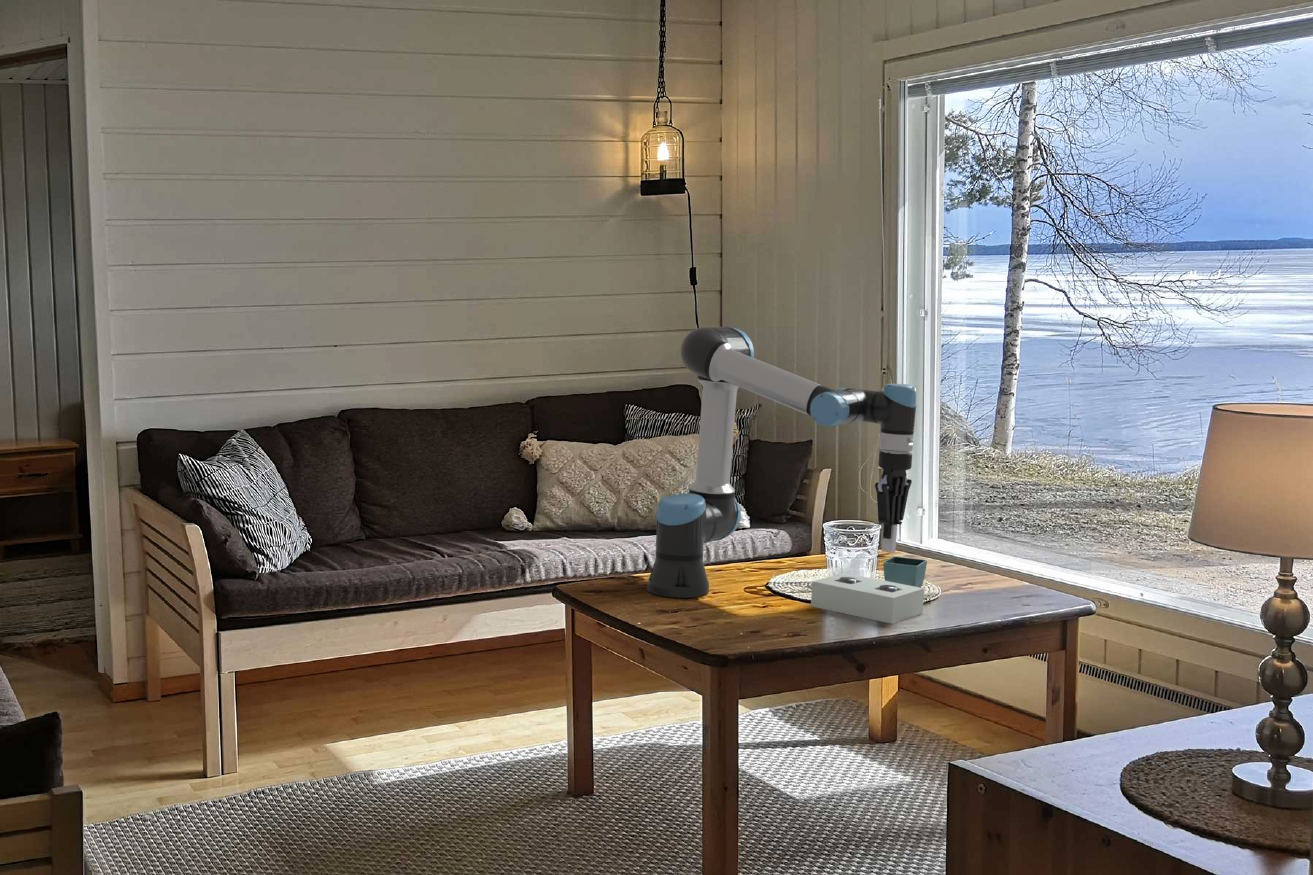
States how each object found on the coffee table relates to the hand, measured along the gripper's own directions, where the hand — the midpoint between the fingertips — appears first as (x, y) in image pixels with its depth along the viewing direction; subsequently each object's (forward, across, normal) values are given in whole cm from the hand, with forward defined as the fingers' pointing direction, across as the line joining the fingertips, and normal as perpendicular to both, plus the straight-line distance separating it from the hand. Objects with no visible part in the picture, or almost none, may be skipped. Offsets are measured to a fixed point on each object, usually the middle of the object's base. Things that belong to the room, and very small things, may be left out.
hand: (888, 551), depth 302 cm
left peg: (+15, 0, +10) cm, 18 cm away
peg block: (+15, 0, +5) cm, 16 cm away
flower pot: (+15, +19, +6) cm, 25 cm away
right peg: (+15, 0, -1) cm, 15 cm away
